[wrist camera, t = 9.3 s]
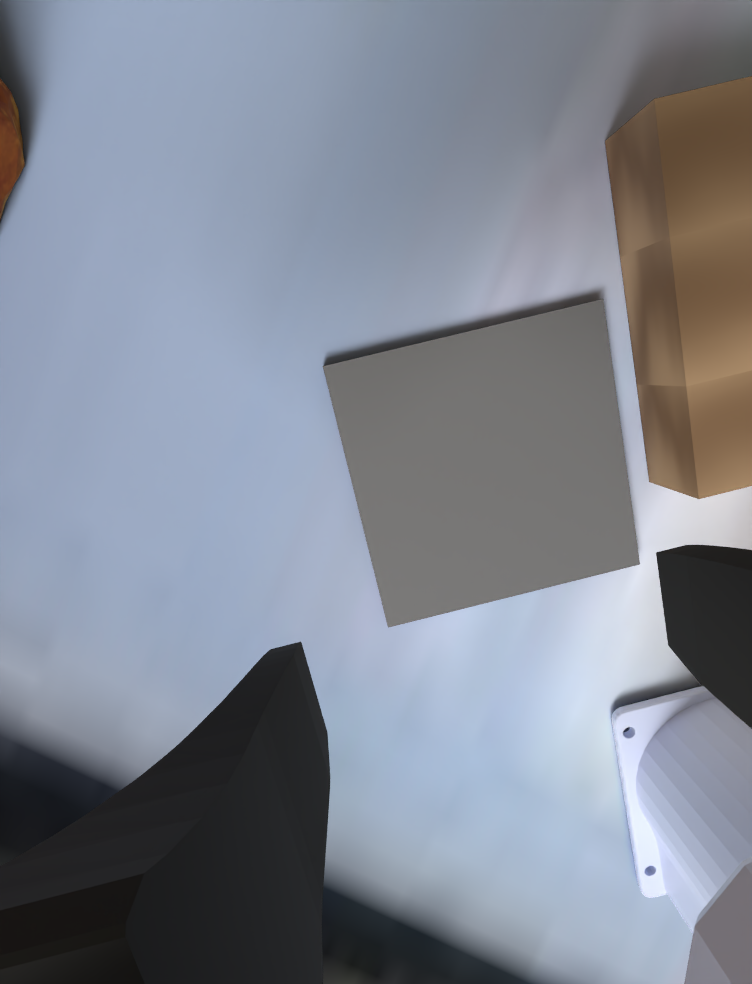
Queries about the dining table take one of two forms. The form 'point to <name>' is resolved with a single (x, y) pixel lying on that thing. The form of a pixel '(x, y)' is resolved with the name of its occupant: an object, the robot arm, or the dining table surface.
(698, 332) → the block
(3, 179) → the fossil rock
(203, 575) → the dining table surface
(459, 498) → the mat
